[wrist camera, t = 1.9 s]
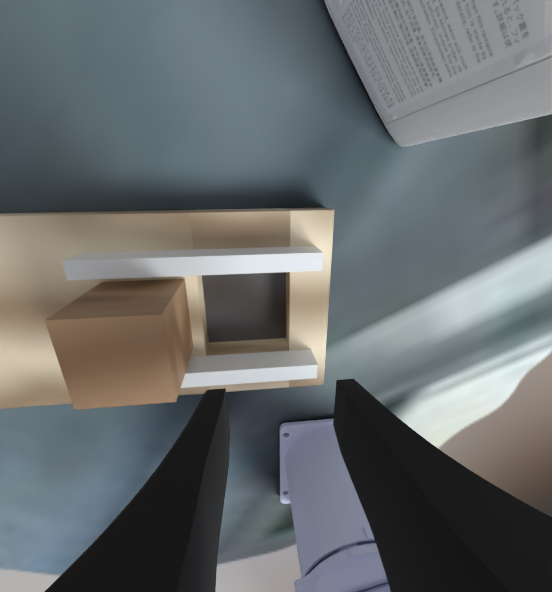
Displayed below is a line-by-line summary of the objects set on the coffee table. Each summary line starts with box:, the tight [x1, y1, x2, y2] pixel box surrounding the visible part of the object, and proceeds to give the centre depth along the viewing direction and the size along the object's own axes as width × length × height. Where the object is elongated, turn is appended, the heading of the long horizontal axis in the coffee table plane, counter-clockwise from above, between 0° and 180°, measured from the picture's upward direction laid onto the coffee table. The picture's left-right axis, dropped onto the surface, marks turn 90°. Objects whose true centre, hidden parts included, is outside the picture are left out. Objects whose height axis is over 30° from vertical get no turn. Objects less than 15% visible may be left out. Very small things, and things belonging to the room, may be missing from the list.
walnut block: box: [45, 279, 194, 410], centre depth 15 cm, size 5×5×5 cm
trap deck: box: [0, 208, 334, 409], centre depth 18 cm, size 12×22×2 cm, turn 91°
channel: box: [62, 246, 323, 388], centre depth 17 cm, size 8×13×2 cm, turn 91°
